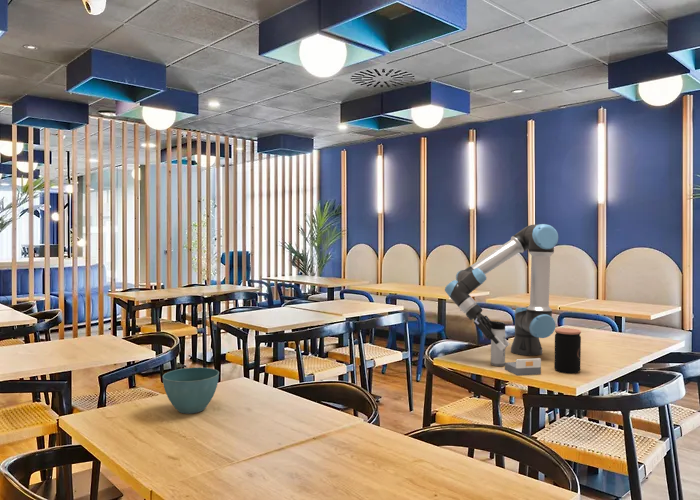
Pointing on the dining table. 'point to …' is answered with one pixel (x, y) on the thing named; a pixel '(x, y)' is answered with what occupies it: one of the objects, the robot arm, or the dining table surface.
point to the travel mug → (496, 353)
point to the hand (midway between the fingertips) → (505, 347)
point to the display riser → (524, 366)
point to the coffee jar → (567, 350)
